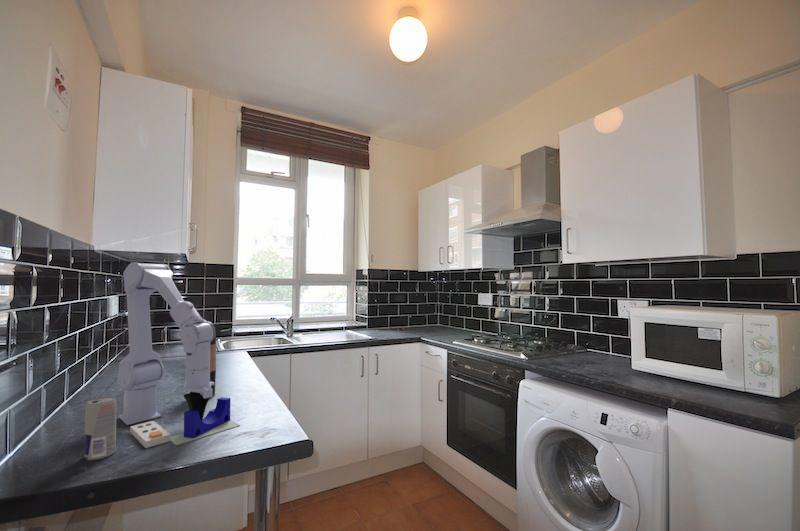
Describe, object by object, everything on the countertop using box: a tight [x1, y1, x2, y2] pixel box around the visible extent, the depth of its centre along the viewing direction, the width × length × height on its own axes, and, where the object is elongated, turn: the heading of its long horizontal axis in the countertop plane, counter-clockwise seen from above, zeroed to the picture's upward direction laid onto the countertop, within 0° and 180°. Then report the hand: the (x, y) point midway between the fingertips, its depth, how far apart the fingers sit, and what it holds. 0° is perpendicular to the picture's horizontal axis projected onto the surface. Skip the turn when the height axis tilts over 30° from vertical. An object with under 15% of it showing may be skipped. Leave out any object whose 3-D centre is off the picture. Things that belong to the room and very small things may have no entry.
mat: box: [169, 419, 241, 446], centre depth 91 cm, size 6×15×1 cm, turn 139°
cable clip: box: [183, 396, 231, 438], centre depth 94 cm, size 12×4×6 cm, turn 163°
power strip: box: [129, 420, 171, 449], centre depth 89 cm, size 14×5×2 cm, turn 49°
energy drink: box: [83, 396, 118, 461], centre depth 80 cm, size 5×5×12 cm
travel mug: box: [209, 335, 217, 399], centre depth 121 cm, size 8×8×20 cm
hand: (197, 420), depth 95 cm, fingers closed
